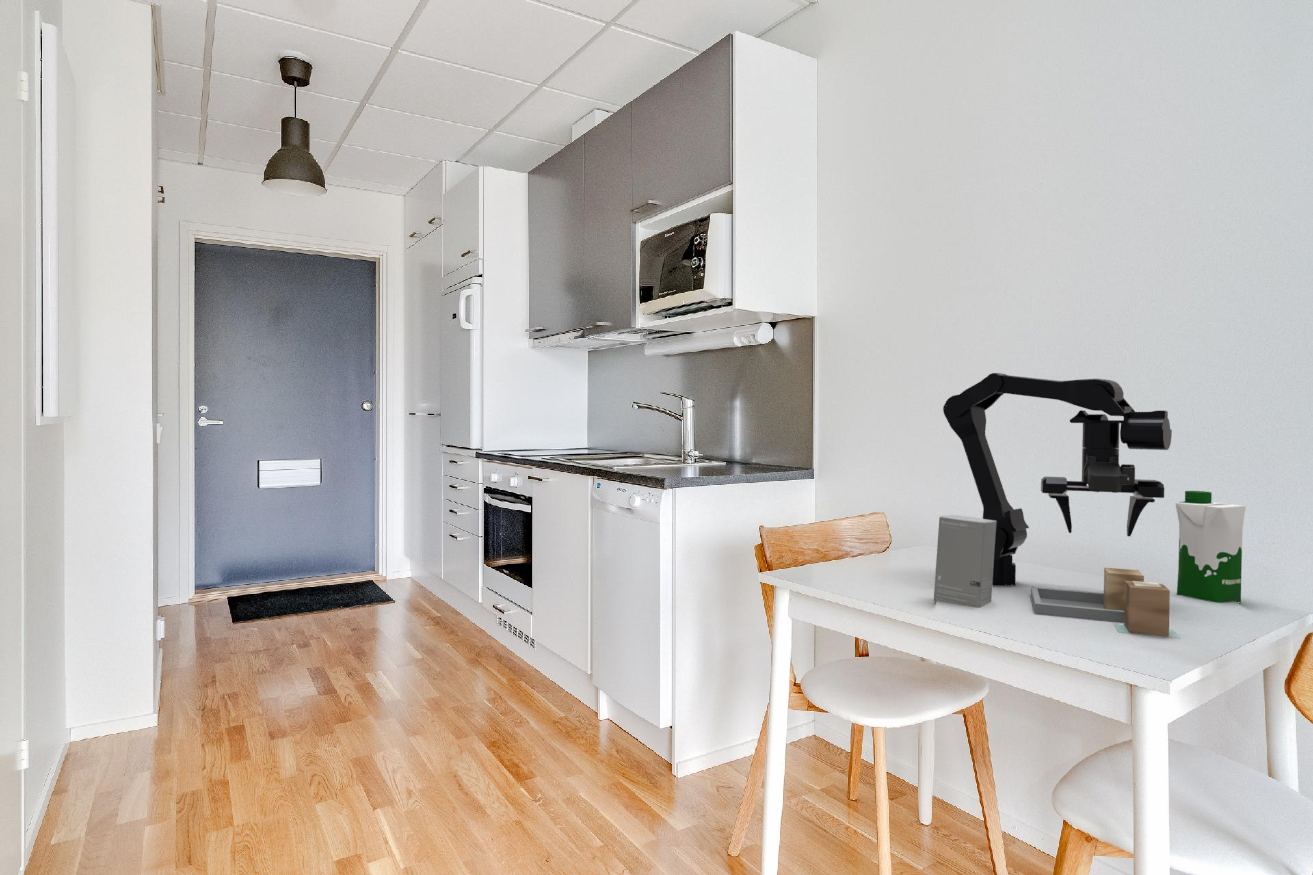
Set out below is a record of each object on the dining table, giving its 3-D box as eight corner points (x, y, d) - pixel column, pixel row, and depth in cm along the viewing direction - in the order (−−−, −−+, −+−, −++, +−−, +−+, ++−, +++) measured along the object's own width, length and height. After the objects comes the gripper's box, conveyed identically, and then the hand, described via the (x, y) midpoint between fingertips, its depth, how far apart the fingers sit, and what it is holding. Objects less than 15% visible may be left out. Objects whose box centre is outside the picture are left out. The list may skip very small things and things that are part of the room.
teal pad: (1118, 636, 113) (1118, 631, 113) (1113, 628, 117) (1113, 623, 117) (1181, 643, 109) (1181, 638, 109) (1173, 634, 114) (1173, 629, 114)
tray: (1034, 618, 123) (1035, 603, 123) (1030, 600, 136) (1030, 586, 136) (1163, 631, 116) (1163, 615, 116) (1146, 610, 128) (1146, 596, 128)
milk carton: (1197, 593, 142) (1199, 489, 142) (1250, 604, 134) (1253, 494, 133) (1168, 597, 139) (1170, 491, 138) (1221, 608, 130) (1223, 495, 130)
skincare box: (933, 604, 132) (934, 516, 132) (948, 597, 138) (949, 512, 137) (981, 612, 127) (983, 520, 126) (995, 605, 132) (997, 517, 132)
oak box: (1107, 614, 123) (1108, 572, 123) (1103, 607, 127) (1104, 567, 127) (1143, 618, 121) (1144, 575, 120) (1137, 611, 125) (1138, 570, 125)
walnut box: (1123, 624, 117) (1124, 579, 116) (1161, 628, 115) (1162, 582, 114) (1129, 632, 112) (1130, 585, 112) (1168, 637, 110) (1169, 589, 110)
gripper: (1045, 448, 130) (1044, 537, 130) (1172, 451, 122) (1170, 544, 123) (1041, 447, 140) (1040, 528, 140) (1158, 448, 132) (1156, 535, 133)
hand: (1098, 534), depth 134 cm, fingers open, 9 cm apart
